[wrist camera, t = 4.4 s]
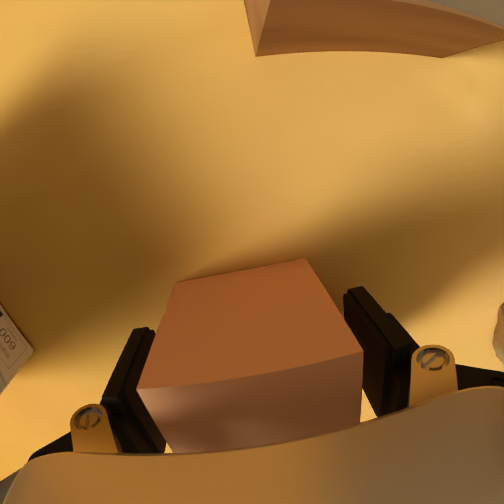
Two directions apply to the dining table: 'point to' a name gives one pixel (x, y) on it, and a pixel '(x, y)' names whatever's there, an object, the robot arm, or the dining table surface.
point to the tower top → (479, 8)
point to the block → (251, 361)
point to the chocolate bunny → (499, 335)
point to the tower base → (366, 27)
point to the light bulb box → (11, 350)
